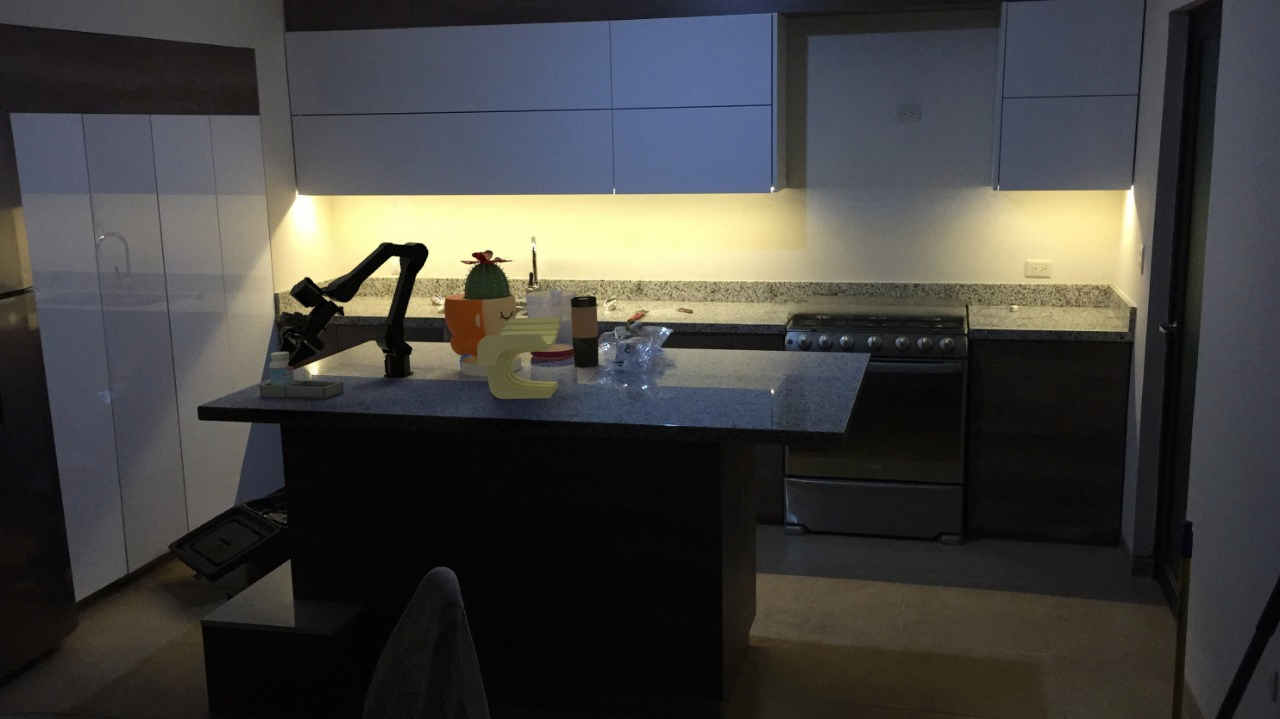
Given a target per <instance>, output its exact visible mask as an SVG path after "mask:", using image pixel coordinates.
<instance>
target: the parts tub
mask: <svg viewBox="0 0 1280 719" xmlns="http://www.w3.org/2000/svg"><path fill="white" fill-rule="evenodd" d="M344 391H345V390H344V382H343V381H333V380H332V381H330V380H329V381H328V380H326V381H325V380H306V379H305V380H303V379H294V384H290V385H287V386H271V381H270V382H266V383H263V384H261V385H259V392H260V397H262V398H263V397H264V398H265V397H268V398H287V399H289V398H291V399H309V400H310V399H311V400H313V399H315V400H327V399H329V398H332V397H335V396H339V395H340V394H341V395H342V394H344V393H345V392H344Z"/></svg>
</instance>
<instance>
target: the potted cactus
mask: <svg viewBox="0 0 1280 719" xmlns="http://www.w3.org/2000/svg"><path fill="white" fill-rule="evenodd" d="M493 256H494V252H493V251H492V250H490V249H486V250H485V251H474V252H473V253H472V252H471V257H472V258H474V259H476V260H462V259H461V260H460V261H459V262H461V264H465V265H470V266H471V265H472V266H471V269H469V270H467V272H469V273H466V274H465V275H464V276H465V277H464V278H463V280H465V281H464V282H463V283H462V286H463V287H464V288H463V291H464V293H459V294H453V295H449V296H446V297H444V298H445V299H444V304H443V307H444V309H443V312H444V319H445V323H446V326H447V328H448V330H449V332H450V333H451V335H452V336H451V338H450V347H451V350H452V351H453V352H454V353H455V354H457V356H462V357H464V356H465V357H464V358H462V359H461V369H462V374H464V375H466V376H471V377H488V374H487V367H486V365H481V366H478V354H477V347H478V344H479V342H480V340H481V339H482V338H484V337H485V336H488V335H500V332H501V330H502V327H503V325H504V324H505V323H506V322H507V321H508V320H510V319H513V318H517V311H518V310H517V301H516V300H517V299H516V296H515V294H514V293H513V290H512V284H511V285H510V283H512V282H511V280H509V279H508V278H511V277H510V276H507V275H506V274H507V271H504V269H505V268H504V267H501V266H502V263H509V262H513V261H514V260H511V259H509V260H508V259H505V258H501V257H500V256H496V257H494V258H493ZM492 258H493V259H492ZM506 258H509V257H506ZM498 263H499V264H498ZM510 288H511V290H510ZM467 355H469V356H467ZM522 367H523V366H522V355H521V354H517V355H515V357H514V361H513V372H514V373H515V372H516V371H517V372H518V371H519V370H521V369H522Z"/></svg>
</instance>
